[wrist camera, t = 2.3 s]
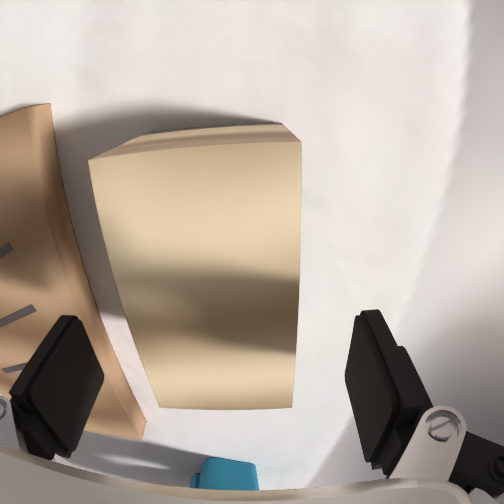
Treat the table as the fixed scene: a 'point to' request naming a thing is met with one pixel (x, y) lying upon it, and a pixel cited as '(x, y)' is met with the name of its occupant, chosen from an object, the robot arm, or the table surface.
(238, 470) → the block
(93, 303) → the oak board
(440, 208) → the table surface
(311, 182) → the table surface
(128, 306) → the block
